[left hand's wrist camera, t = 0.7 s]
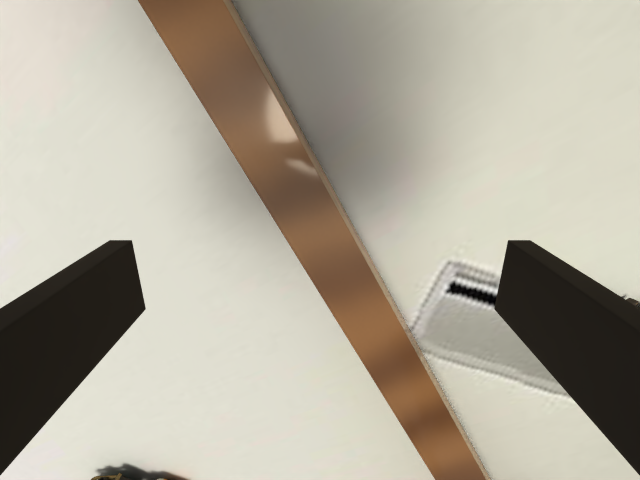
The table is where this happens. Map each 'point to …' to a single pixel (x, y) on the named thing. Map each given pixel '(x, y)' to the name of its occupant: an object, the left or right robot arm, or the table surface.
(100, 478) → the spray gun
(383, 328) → the bar
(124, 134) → the table surface
